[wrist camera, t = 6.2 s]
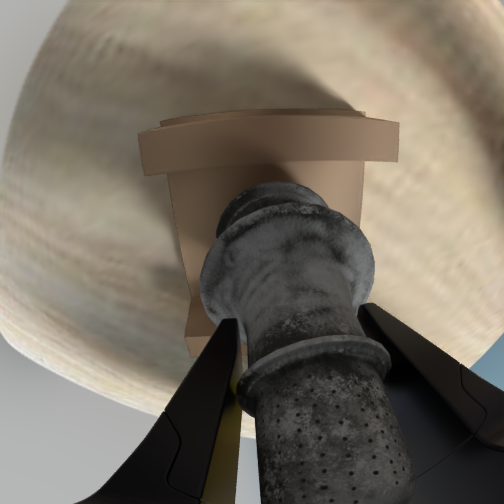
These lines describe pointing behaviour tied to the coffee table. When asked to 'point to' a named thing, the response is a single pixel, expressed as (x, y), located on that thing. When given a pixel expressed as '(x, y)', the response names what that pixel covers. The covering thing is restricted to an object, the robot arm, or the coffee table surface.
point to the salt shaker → (307, 349)
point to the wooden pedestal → (257, 172)
